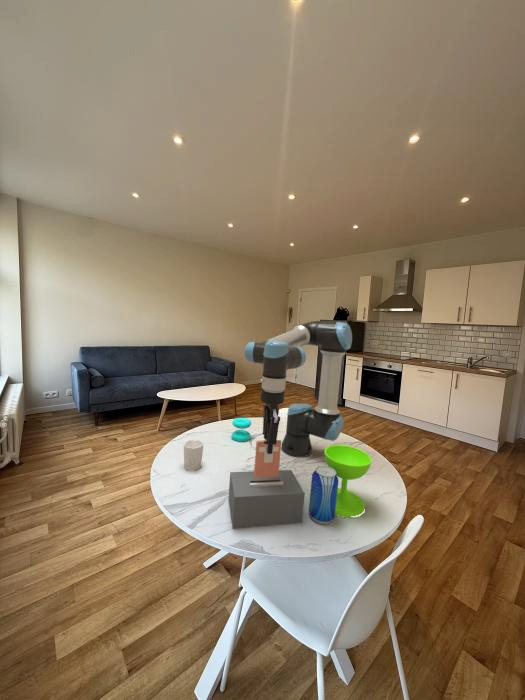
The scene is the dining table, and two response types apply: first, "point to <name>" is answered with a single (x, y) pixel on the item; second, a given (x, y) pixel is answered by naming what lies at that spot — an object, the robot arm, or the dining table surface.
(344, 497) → the wineglass
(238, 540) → the dining table surface
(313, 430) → the robot arm
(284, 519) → the dispenser
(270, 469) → the ticket
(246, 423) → the donuts
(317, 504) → the beer can
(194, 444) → the white cup
